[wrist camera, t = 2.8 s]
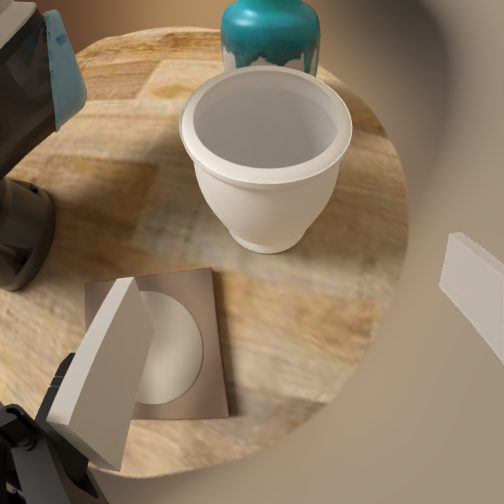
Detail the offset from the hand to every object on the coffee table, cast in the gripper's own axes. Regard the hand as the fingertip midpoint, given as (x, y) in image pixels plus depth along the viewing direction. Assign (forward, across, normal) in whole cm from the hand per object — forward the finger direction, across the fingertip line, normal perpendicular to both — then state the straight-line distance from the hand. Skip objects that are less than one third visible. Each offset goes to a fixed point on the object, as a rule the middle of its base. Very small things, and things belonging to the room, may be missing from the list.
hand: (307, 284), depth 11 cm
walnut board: (+11, -13, -13) cm, 21 cm away
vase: (+31, +3, +7) cm, 32 cm away
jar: (+20, 0, -4) cm, 20 cm away
